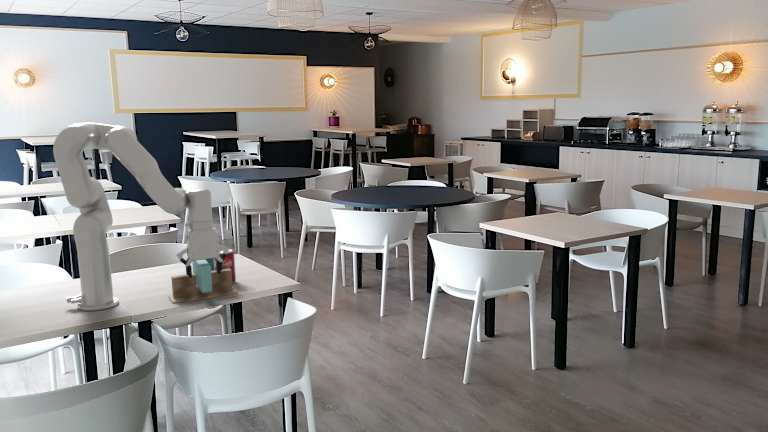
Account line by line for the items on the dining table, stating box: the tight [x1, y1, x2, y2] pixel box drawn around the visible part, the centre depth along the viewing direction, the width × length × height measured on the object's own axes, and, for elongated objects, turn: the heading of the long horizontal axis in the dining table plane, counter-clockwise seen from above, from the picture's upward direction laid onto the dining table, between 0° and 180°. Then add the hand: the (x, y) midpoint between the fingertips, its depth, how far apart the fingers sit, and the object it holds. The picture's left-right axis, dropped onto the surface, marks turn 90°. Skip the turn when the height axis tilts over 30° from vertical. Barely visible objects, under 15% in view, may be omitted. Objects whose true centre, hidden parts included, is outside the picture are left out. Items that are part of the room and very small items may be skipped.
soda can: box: [214, 248, 237, 285], centre depth 244 cm, size 7×7×12 cm
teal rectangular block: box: [191, 260, 212, 293], centre depth 228 cm, size 3×14×9 cm, turn 28°
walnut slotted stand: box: [168, 269, 239, 304], centre depth 229 cm, size 22×8×8 cm, turn 118°
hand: (204, 274), depth 225 cm, fingers open, 9 cm apart
